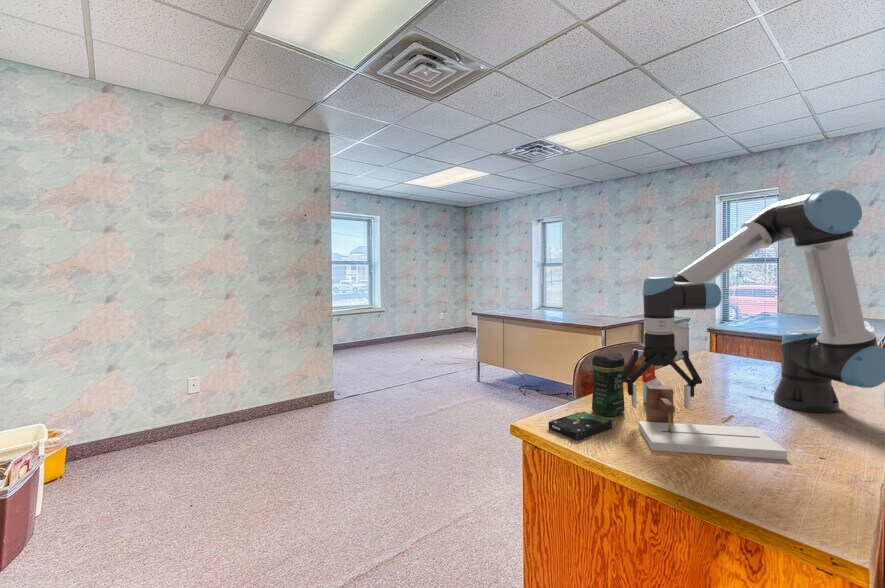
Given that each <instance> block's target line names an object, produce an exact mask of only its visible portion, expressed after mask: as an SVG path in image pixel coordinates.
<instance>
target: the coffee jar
mask: <svg viewBox="0 0 885 588" xmlns="http://www.w3.org/2000/svg"><path fill="white" fill-rule="evenodd" d="M591 364H592V366H591V368H592V372H593V383H592V384H593V385H592V398H591V399H592V401H591V402H592V403H591V411H592V412H594V413H595V414H597V415H598V416H601V417H602V416H606V417H614V416H618V415H621V414H623V413H625V411H626V410H625V406H626V405H625V393H624V382H622V380H621V379H620V377H621V375H622V373H623V371H624V369H625V367H626V366H625V357H624V356H623V354H622V353H618V352H617V353H616V352H612V351H610V352H606V353H602V354H601V353H600V354H595V355H593V357H592V363H591Z"/></svg>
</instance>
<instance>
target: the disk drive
mask: <svg viewBox="0 0 885 588" xmlns="http://www.w3.org/2000/svg"><path fill="white" fill-rule="evenodd" d="M548 429H549V430H551V431H553V432H556V434H559V435H563V436H564V437H567V438H569V439H571V438H572V439H571V440H573V441H576V442H578V441H582V440H584V438H585V439H587V438H590V437H591V436H592V435H593V436H595V435H597V434H598V435H599V434H601V433H604V432H607V431H609V430H611V429H613V421H612V420H611V419H609V418H605V417H602V416H601V415H594V414H591V413H588V412H586V411H580V412H575V413H573V414H569V415H566V416H563V417H559V418H555V419H552V420H549V421H548ZM603 431H604V432H603ZM589 436H590V437H589ZM586 437H587V438H586Z"/></svg>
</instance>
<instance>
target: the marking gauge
mask: <svg viewBox="0 0 885 588" xmlns="http://www.w3.org/2000/svg"><path fill="white" fill-rule="evenodd" d="M645 404H646V405H645V406H646V409H645V410H646V419H645V420H646V421H645V422H661V423H669V430H670V431H671V423H674V414H675V412H676V409H675V405H674V389H673V387H672V386H670V385H662V386H655V385H646V403H645Z"/></svg>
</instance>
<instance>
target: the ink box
mask: <svg viewBox="0 0 885 588" xmlns="http://www.w3.org/2000/svg"><path fill="white" fill-rule="evenodd" d="M648 370H649V371H648ZM641 381H642V398H643V399H642V400H643V403H644V404H646V385H655V386H663V385H662V382H661V381H660V379H659V378H658V377H657V376H656V366H654V365H651V366H650V367H649V368H647V369H646V370H645V371H644V372H643V374H642V375H641Z"/></svg>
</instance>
